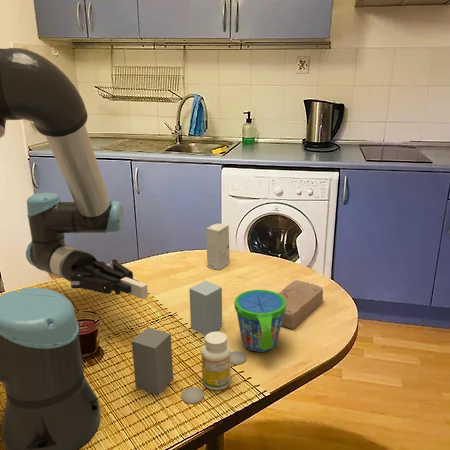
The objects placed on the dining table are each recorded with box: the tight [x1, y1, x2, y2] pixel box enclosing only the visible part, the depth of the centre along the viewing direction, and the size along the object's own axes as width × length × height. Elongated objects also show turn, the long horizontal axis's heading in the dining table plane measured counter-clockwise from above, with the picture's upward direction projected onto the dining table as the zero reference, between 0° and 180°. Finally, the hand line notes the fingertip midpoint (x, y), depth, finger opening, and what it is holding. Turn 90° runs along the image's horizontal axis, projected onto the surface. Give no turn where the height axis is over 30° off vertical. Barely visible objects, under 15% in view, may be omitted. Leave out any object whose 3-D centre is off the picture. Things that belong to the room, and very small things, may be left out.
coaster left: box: [180, 386, 205, 405], centre depth 82 cm, size 4×4×1 cm
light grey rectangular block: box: [189, 280, 223, 337], centre depth 102 cm, size 5×5×10 cm
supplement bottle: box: [201, 331, 232, 391], centre depth 84 cm, size 5×5×10 cm
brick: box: [278, 279, 324, 330], centre depth 109 cm, size 17×8×5 cm, turn 144°
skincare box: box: [205, 222, 230, 271], centre depth 132 cm, size 6×4×12 cm
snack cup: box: [234, 289, 286, 353], centre depth 96 cm, size 16×10×10 cm
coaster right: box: [231, 350, 247, 366], centre depth 92 cm, size 4×4×1 cm
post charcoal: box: [131, 327, 174, 396], centre depth 84 cm, size 5×5×10 cm
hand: (144, 291), depth 94 cm, fingers closed
